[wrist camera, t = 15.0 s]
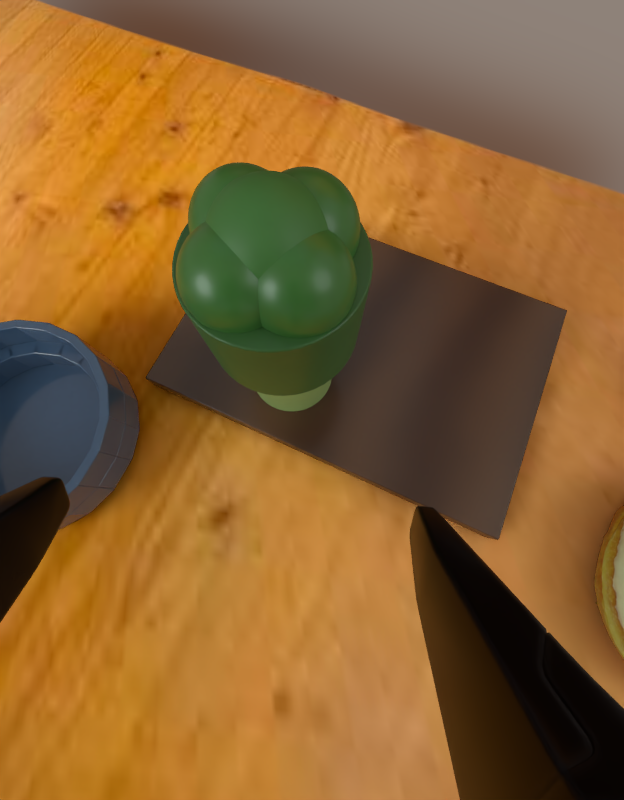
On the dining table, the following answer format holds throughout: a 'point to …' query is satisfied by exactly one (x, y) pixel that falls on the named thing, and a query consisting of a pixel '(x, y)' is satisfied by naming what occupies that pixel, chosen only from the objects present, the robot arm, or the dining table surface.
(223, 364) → the broccoli
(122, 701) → the dining table surface
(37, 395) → the bowl
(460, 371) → the board
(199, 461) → the dining table surface
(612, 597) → the decorated donut
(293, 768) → the dining table surface
